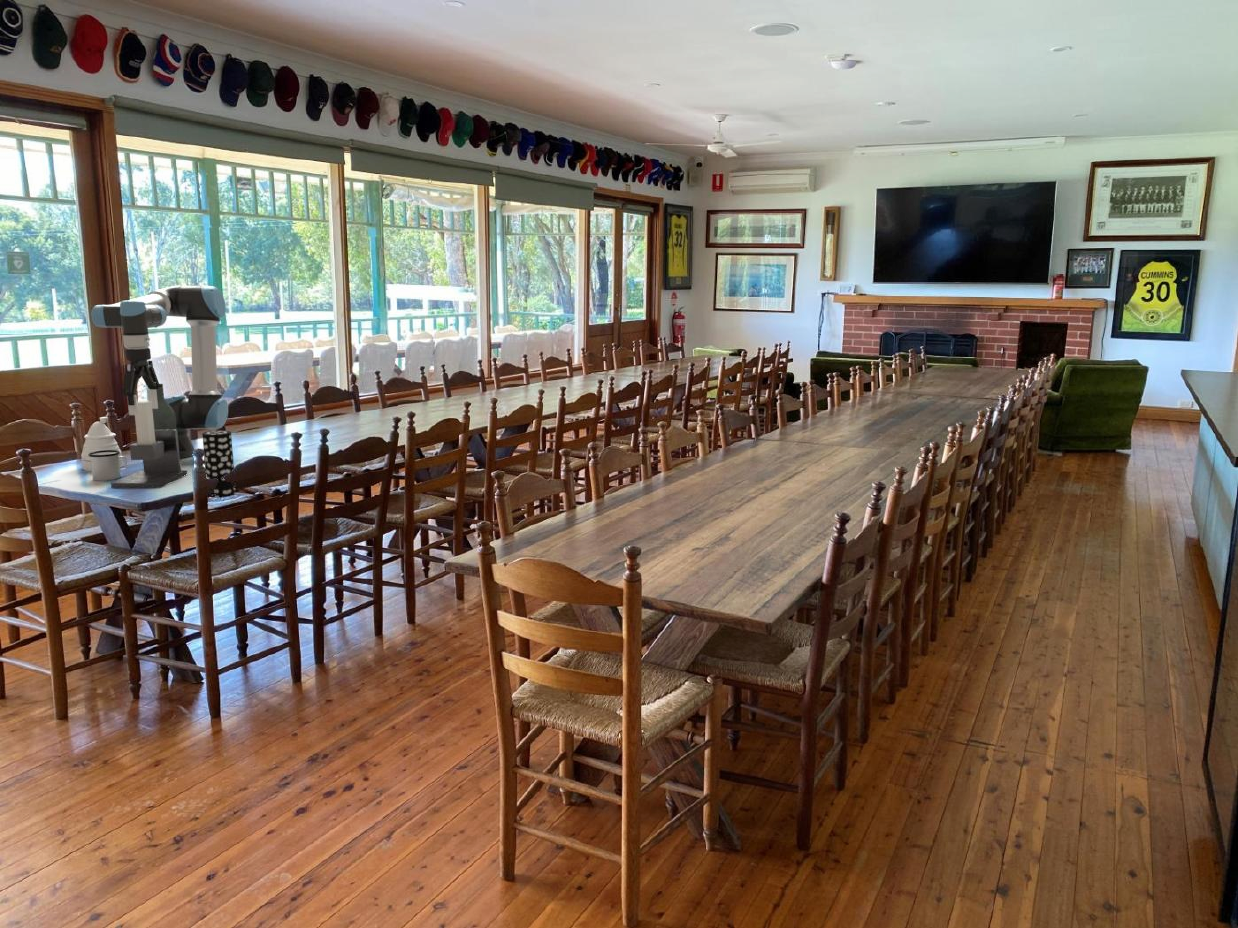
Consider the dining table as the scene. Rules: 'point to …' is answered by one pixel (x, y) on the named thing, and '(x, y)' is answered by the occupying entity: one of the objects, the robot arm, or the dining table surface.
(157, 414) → the bottle
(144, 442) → the tall white block
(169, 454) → the coffee machine
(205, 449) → the black dotted tall container
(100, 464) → the mug
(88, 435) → the honey pot
